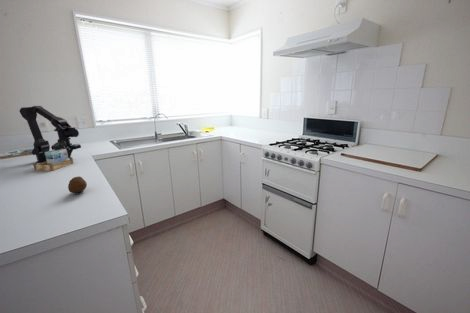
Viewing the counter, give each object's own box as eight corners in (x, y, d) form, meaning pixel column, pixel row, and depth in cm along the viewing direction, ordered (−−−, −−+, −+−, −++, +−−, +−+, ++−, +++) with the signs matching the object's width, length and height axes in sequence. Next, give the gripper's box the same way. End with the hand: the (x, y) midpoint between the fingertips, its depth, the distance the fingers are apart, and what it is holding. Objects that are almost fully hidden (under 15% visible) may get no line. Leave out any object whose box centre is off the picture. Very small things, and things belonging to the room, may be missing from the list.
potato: (87, 187, 114) (84, 173, 112) (88, 194, 106) (85, 178, 104) (70, 191, 110) (66, 176, 108) (69, 198, 102) (65, 182, 100)
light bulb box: (56, 167, 149) (52, 152, 146) (47, 167, 150) (43, 152, 147) (70, 163, 159) (66, 148, 156) (62, 163, 160) (58, 148, 157)
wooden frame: (34, 170, 144) (32, 163, 143) (57, 163, 160) (55, 157, 158) (52, 170, 142) (50, 164, 141) (73, 163, 158) (72, 157, 157)
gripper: (41, 139, 151) (47, 161, 155) (65, 139, 148) (71, 161, 153) (55, 136, 161) (61, 157, 165) (79, 136, 159) (83, 157, 163)
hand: (69, 158), depth 161 cm, fingers closed
